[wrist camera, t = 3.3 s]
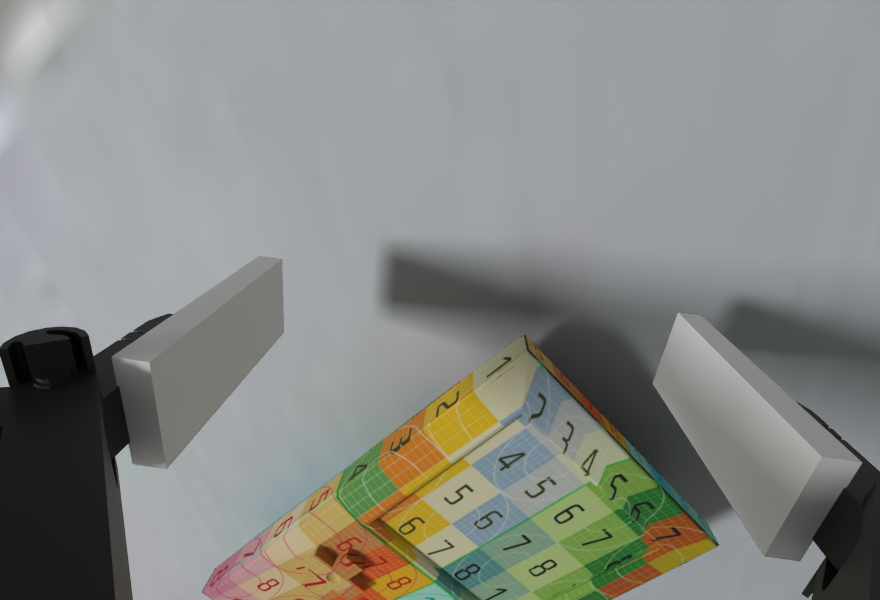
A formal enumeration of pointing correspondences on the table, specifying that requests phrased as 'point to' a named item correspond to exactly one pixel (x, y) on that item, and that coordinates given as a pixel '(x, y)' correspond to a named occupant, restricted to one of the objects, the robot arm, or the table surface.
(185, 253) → the table surface
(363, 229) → the table surface
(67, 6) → the table surface
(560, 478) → the puzzle game
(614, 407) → the table surface
